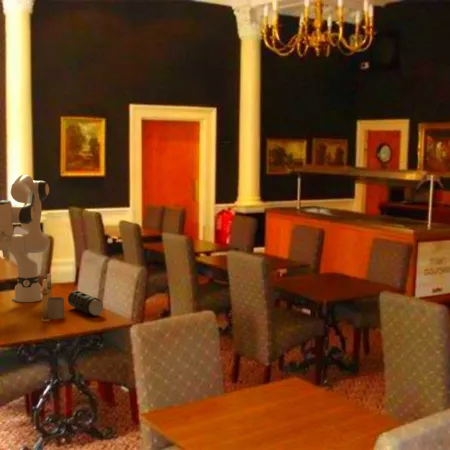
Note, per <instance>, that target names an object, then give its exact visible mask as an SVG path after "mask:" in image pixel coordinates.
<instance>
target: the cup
mask: <svg viewBox="0 0 450 450" xmlns="http://www.w3.org/2000/svg"><path fill="white" fill-rule="evenodd" d="M48 314H49V318H50V320H61V319H64V318H65V297H60V296H59V297H58V296H55V297H53V296H52V298H48Z"/></svg>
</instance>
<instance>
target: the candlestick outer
mask: <svg viewBox="0 0 450 450" xmlns="http://www.w3.org/2000/svg"><path fill="white" fill-rule="evenodd" d="M41 282H42V290H41V293H42V300H41V305H42V306H41V308H42V311H41V312H42V313H41V314H42V318H41V319H40V322H42V323H49V322H51V319H50V318H49V314H48V293H49V291H48V290H47V278H44V279H42V281H41Z"/></svg>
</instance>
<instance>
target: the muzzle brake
mask: <svg viewBox="0 0 450 450" xmlns="http://www.w3.org/2000/svg"><path fill="white" fill-rule="evenodd" d="M67 297H68V298H67V302H68V304H69V305H70V306H71V307H73V308H74V309H76V310H78V311H80V312H82V313H86V314H87V315H88V314H89V315H88V316H90V315H91V316H90V317H93V316H99V315H100V314H101V313H102V312H103V310H104V305H103V301H102V300H101V299H100V298H98V297H95V296H91V295H88V294H86V293H84V292H82V291H79V290H73V291H71V292H70V293H69V295H68V296H67Z"/></svg>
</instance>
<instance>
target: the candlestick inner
mask: <svg viewBox="0 0 450 450" xmlns="http://www.w3.org/2000/svg"><path fill="white" fill-rule="evenodd" d="M46 279H47V290H48V291H49V293H48V298H52V297H53V287H54V284H52V273H47V274H46Z"/></svg>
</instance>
